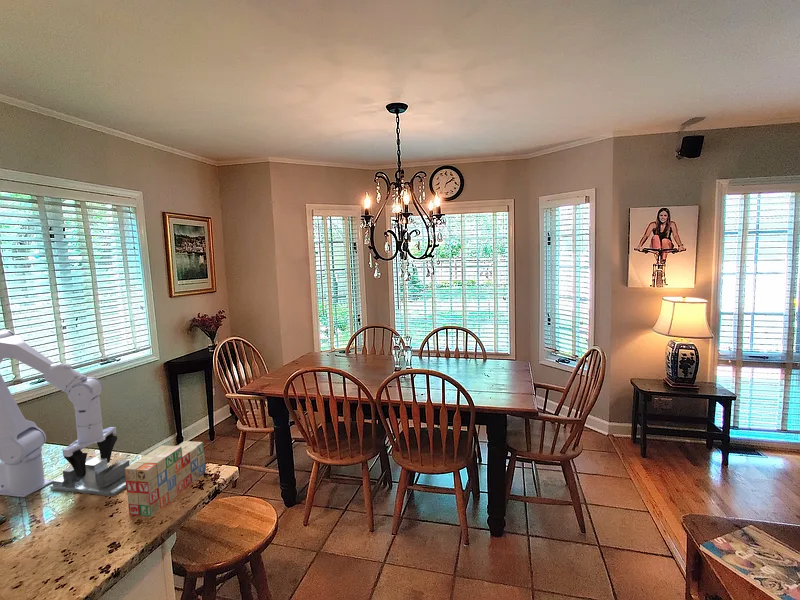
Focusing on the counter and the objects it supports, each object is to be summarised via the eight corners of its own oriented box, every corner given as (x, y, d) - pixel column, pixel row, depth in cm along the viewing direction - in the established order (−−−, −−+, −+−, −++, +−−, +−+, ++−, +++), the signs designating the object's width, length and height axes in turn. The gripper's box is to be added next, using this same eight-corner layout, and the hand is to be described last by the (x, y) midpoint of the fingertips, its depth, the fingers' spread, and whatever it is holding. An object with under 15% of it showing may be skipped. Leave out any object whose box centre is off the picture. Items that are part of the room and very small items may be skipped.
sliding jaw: (97, 486, 111) (96, 474, 111) (122, 471, 119) (121, 459, 119) (105, 487, 111) (104, 474, 111) (130, 471, 119) (129, 460, 118)
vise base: (50, 489, 113) (48, 472, 112) (87, 469, 123) (86, 453, 123) (113, 496, 109) (111, 479, 108) (145, 474, 120) (144, 458, 119)
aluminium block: (83, 481, 115) (81, 464, 114) (96, 473, 119) (94, 457, 118) (95, 482, 114) (93, 465, 113) (108, 474, 118) (106, 458, 117)
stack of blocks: (187, 470, 122) (184, 430, 121) (206, 472, 121) (203, 431, 120) (128, 515, 101) (124, 467, 100) (151, 517, 100) (146, 469, 99)
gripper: (76, 434, 107) (81, 484, 108) (123, 413, 121) (127, 457, 122) (54, 432, 108) (59, 481, 109) (103, 412, 122) (107, 455, 124)
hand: (93, 468), depth 116 cm, fingers open, 7 cm apart
